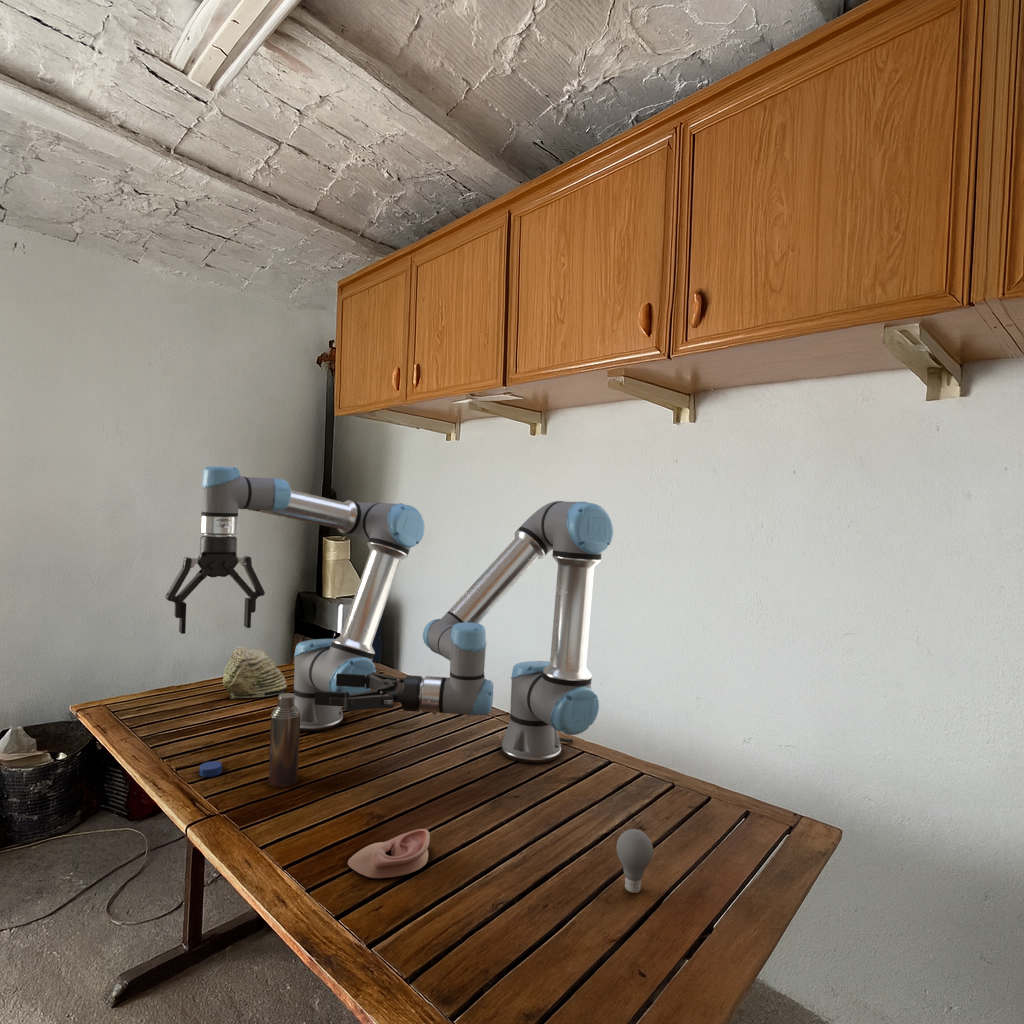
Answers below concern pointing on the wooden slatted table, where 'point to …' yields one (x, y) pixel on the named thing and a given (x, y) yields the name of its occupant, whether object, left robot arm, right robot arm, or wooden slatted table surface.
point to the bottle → (284, 742)
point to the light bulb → (634, 857)
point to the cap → (210, 769)
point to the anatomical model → (393, 856)
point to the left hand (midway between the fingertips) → (215, 629)
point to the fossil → (252, 674)
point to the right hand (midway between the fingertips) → (326, 688)
